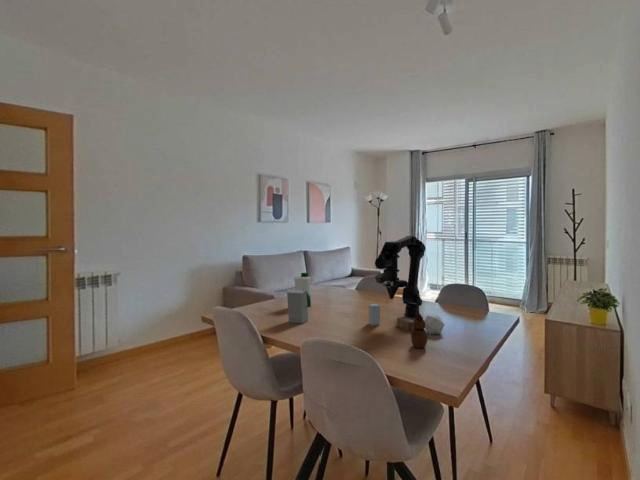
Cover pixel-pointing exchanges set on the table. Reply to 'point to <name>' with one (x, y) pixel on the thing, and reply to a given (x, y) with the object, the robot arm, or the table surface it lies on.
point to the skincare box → (297, 306)
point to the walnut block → (405, 323)
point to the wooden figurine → (419, 332)
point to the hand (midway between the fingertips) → (391, 298)
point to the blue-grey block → (374, 314)
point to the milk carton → (303, 285)
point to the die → (433, 324)
